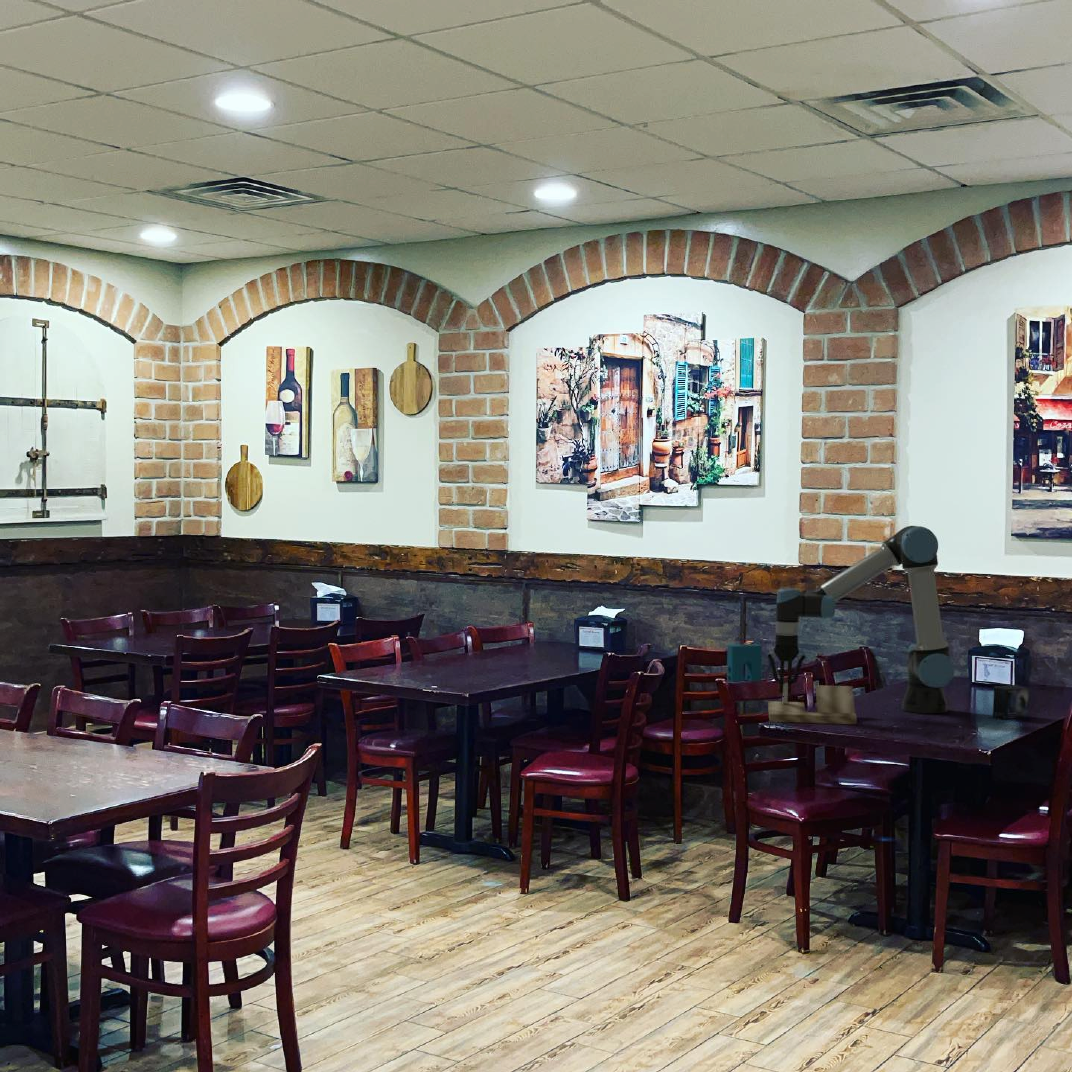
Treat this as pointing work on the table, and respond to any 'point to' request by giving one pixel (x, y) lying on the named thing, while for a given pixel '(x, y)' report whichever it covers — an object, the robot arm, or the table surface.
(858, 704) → the table surface
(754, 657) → the block
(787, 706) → the plank far
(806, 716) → the laid floor
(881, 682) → the table surface
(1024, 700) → the small box
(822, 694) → the plank near
